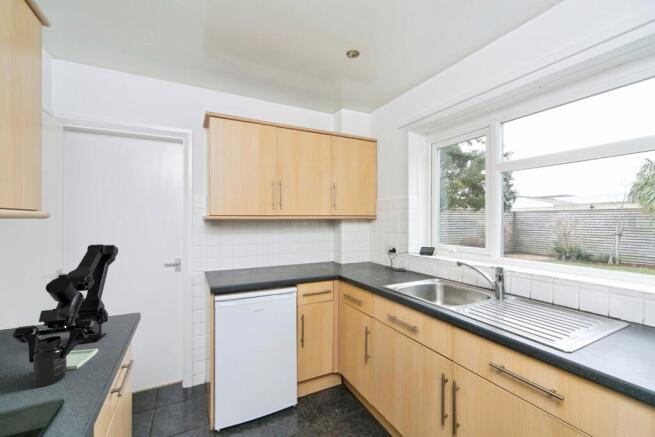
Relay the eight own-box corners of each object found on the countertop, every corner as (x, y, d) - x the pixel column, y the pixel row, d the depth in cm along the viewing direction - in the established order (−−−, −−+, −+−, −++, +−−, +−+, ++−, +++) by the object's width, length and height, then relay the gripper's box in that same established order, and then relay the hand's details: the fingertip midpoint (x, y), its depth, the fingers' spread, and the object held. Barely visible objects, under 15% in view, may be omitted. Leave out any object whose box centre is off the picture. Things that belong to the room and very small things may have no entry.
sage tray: (61, 355, 93) (61, 351, 92) (98, 351, 95) (98, 348, 95) (35, 373, 82) (35, 369, 82) (77, 369, 84) (77, 365, 84)
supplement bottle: (65, 370, 84) (64, 332, 84) (68, 379, 80) (68, 338, 79) (32, 380, 79) (31, 340, 78) (34, 390, 74) (33, 347, 74)
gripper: (15, 300, 79) (-15, 356, 69) (95, 293, 85) (77, 344, 75) (34, 317, 86) (8, 369, 76) (105, 310, 93) (91, 357, 83)
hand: (47, 360), depth 78 cm, fingers closed on supplement bottle, 7 cm apart
